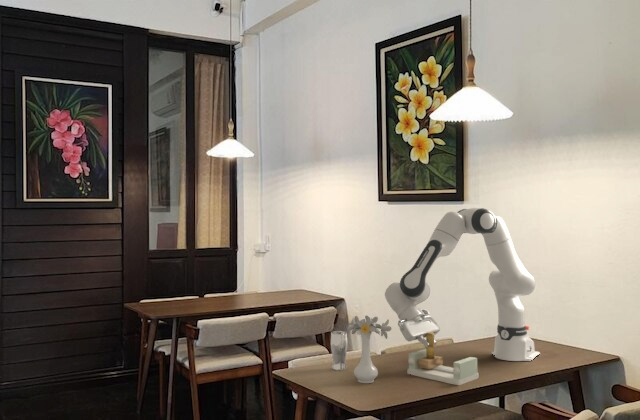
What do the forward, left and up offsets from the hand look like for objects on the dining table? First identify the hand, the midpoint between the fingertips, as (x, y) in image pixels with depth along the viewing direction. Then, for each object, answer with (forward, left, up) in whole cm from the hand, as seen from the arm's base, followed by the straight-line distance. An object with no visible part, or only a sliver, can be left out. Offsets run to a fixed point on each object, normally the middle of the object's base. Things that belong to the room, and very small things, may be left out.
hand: (431, 345), depth 259 cm
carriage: (0, -1, -8) cm, 8 cm away
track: (0, +5, -11) cm, 12 cm away
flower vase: (+26, -12, -12) cm, 31 cm away
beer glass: (+20, -32, -12) cm, 39 cm away
